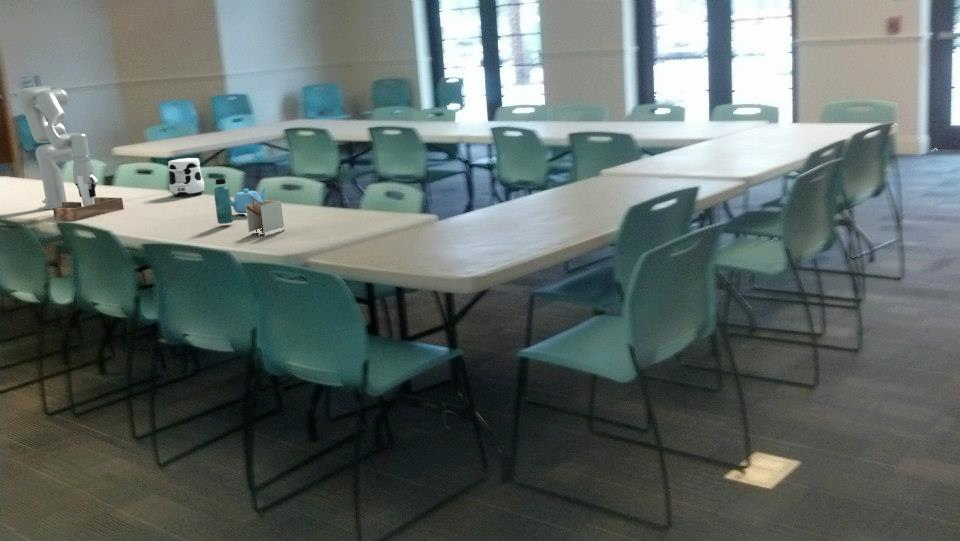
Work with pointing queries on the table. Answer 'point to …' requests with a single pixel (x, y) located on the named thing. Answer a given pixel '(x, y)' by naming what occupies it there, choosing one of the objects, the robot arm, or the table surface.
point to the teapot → (246, 199)
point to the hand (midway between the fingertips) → (87, 196)
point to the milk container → (185, 177)
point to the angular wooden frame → (87, 208)
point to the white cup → (85, 192)
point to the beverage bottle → (223, 203)
